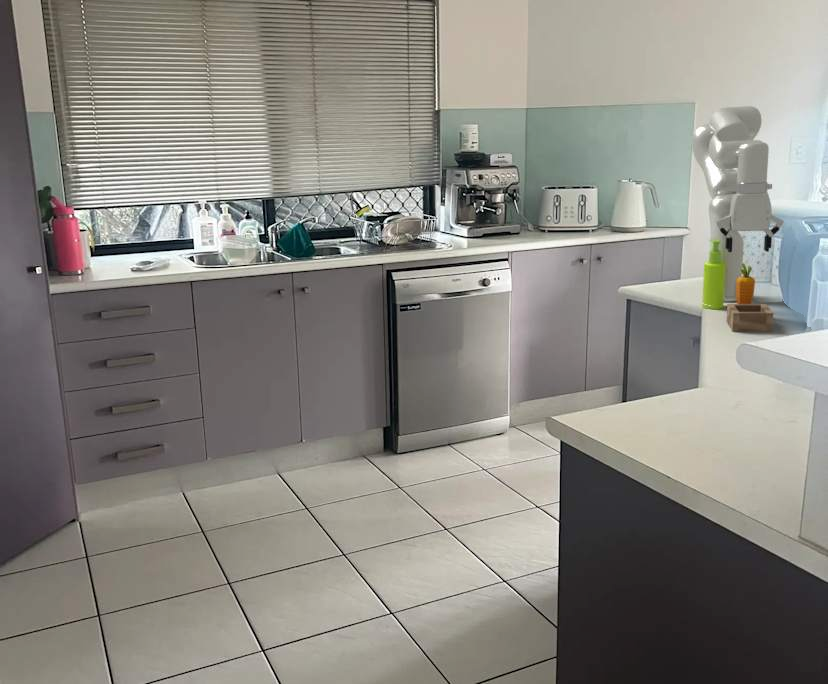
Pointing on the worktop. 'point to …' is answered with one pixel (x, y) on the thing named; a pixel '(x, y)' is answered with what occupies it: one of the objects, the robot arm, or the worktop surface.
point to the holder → (749, 317)
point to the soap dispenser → (714, 279)
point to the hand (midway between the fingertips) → (747, 251)
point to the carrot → (745, 286)
